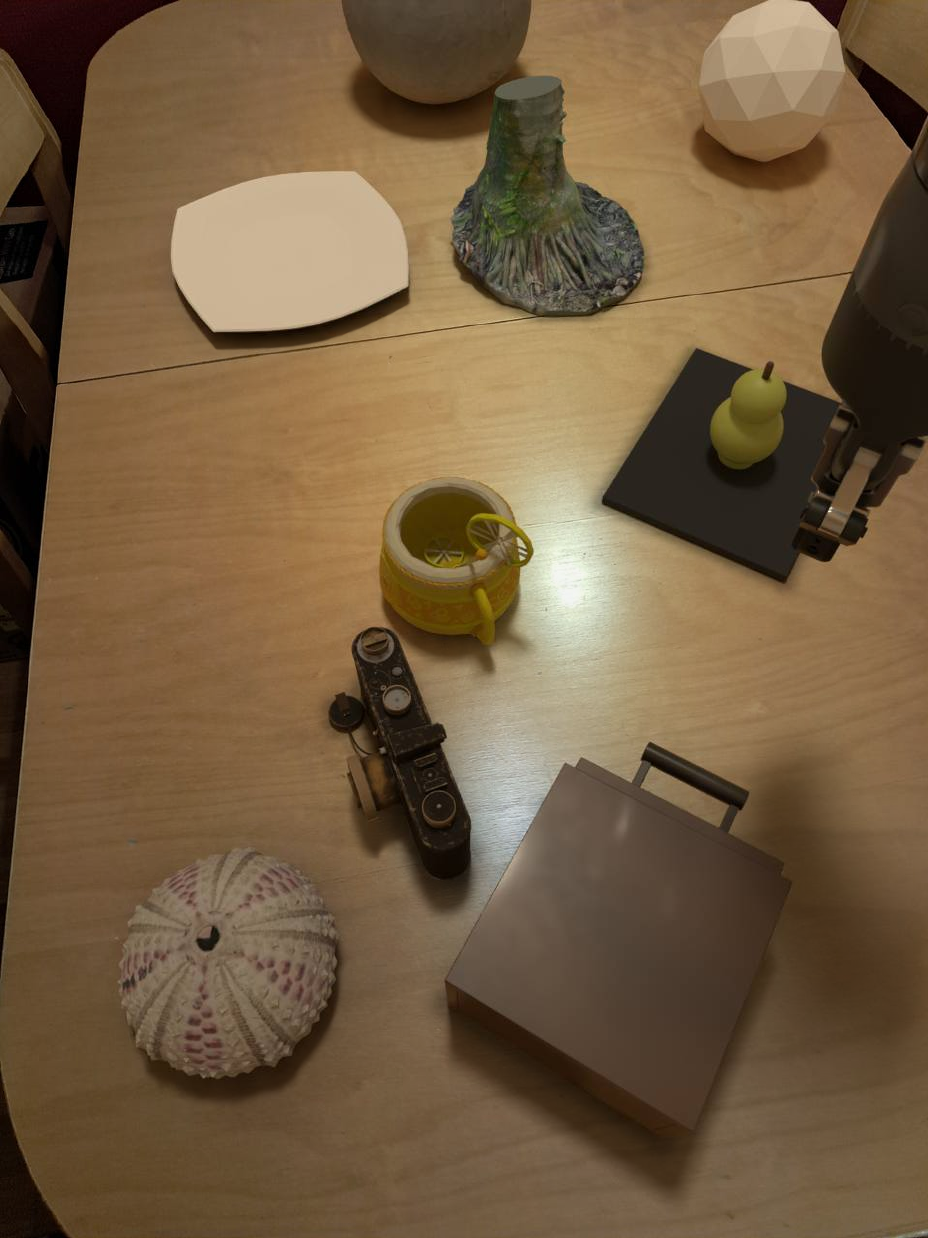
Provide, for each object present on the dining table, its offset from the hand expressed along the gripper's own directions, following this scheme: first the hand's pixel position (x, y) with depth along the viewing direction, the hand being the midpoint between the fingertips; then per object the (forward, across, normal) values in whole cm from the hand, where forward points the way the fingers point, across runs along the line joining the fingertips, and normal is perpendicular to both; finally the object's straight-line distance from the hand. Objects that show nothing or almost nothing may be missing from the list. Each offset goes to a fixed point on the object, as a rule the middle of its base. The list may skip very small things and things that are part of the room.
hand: (813, 546), depth 51 cm
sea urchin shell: (+21, -32, +20) cm, 43 cm away
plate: (+21, +25, +56) cm, 65 cm away
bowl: (+21, +59, +59) cm, 86 cm away
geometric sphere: (+21, +66, +23) cm, 73 cm away
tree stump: (+21, +39, +35) cm, 57 cm away
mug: (+21, -1, +22) cm, 31 cm away
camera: (+21, -16, +18) cm, 32 cm away
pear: (+20, +23, +8) cm, 31 cm away
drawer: (+20, -16, 0) cm, 26 cm away
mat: (+21, +23, +8) cm, 32 cm away
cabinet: (+21, -20, 0) cm, 29 cm away
